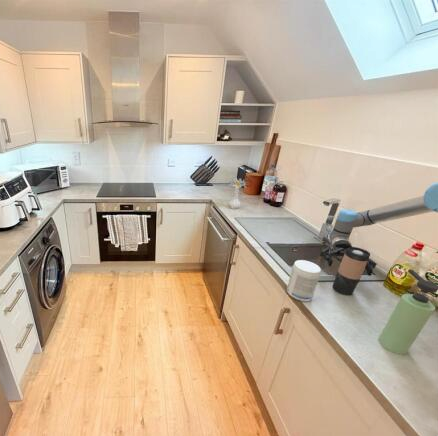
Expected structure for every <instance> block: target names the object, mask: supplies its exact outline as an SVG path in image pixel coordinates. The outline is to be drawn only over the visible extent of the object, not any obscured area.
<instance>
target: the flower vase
mask: <svg viewBox="0 0 438 436" xmlns="http://www.w3.org/2000/svg"><path fill="white" fill-rule="evenodd" d="M228 183H229V185H228V187H229V189H231V188H232V187H234V194H233V198H232V199H231V200H230V201H229V203H228V205H229V207H230V209H233V210H238V209H239V208H240V207H241V205H242V203H241V202H240V200H239V192H240V190H241V189H240V188H242V187H244V188H245V189H247V186H246V181H245V179H243V180H242V178H239V179H238V178H237V177H235V178H232V179H231V180H230V181H229V182H228Z"/></svg>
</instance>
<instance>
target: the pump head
mask: <svg viewBox="0 0 438 436" xmlns="http://www.w3.org/2000/svg"><path fill="white" fill-rule="evenodd" d="M407 272H408V273H409V274H410V275H411V276H412V277H413V278H414V279H415V280H417V283H416V287H417V288H418V289H420V293H421V294H424V295H427V294H429V293H431V294H436V293H438V285H437V284H436V283H434V282H432V281H429V280H425V279H424V278H423V277H422V276H421V275H419V274H418V273H417V272H416V271H415V270H414V269H411V268H409V269H408V271H407Z"/></svg>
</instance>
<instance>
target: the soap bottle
mask: <svg viewBox="0 0 438 436" xmlns="http://www.w3.org/2000/svg"><path fill="white" fill-rule="evenodd" d="M435 310H436V306H435V305H434V304H433V303H432V302H431V301H430V298H429V297H428V296H426V295H425V294H423V293H420V292H419V293H418V292H413V293H411V294H410V293H403V294H402V295H401V296H400V298H399V300H398V302H397V304H396V306H395V307H394V309H393V311H392V312H391V315H390V316H389V318H388V320H387V322H386V323H385V325H384V327H383V328H382V331H381V333H380V335H379V336H378V338H377V340H378V342H379V344H380V346H382V347H383V348H385V349H386V350H387V351H389V352H391V353H393V354H396V355H401V356H403V355H407V354H408V352H409V350H410V349H411V348H412V346H413V344H414V343H415V341H416V340H417V338H418V336H419V335H420V333H421V332H422V330H423V329H424V328H425V326H426V324H427V322H428V321H429V319H430V318H431V317H432V315H433V314H434V312H435Z"/></svg>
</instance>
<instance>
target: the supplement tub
mask: <svg viewBox="0 0 438 436" xmlns="http://www.w3.org/2000/svg"><path fill="white" fill-rule="evenodd" d="M321 271H322V269H321V267H320V266H319V265H318V264H317V263H314V262H312V261H309V260H304V259H297V260H295V261H294V264H293V265H292V268H291V271H290V272H291V273H290V276H289V279H288V282H287V287H286V293H287V294H288V295H289V296H290V297H291V298H293V299H295V300H297V301H300V302H310V301H311V300H312V299H313V297H314V295H315V291H316V288H317V285H318V284H319V283H318V282H319V280H320V276H321Z"/></svg>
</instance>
